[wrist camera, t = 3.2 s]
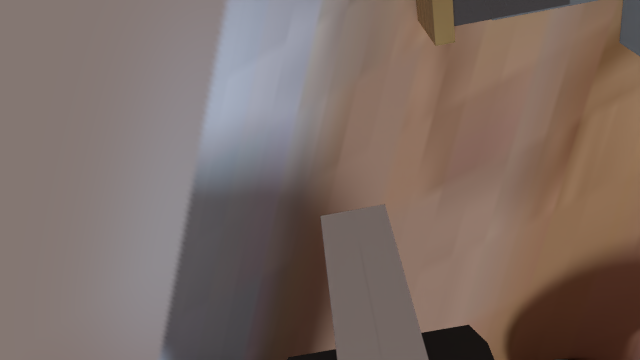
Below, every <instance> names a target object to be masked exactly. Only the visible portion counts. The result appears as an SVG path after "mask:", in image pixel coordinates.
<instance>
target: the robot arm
mask: <svg viewBox="0 0 640 360" xmlns="http://www.w3.org/2000/svg"><path fill="white" fill-rule="evenodd" d="M320 217H321V225H322V234H323V242H324V251H325V259H326V268H327V276H328V285H329V293H330V302H331V310H332V319H333V327H334V336H335V344H336V349H335V350H329V351H323V352H317V353H311V354H306V355H300V356H294V357H288V359H287V360H494V358H493V355H492V353H491V350H490V348H489V345H488V343H487V342H486V341H485V340H484V339H483V338H482V337H481V336H480V335H479V334H478V333H477V332H476V331H475V330H474V329H473V328H472V327H470V326H469V325H465V326H459V327H453V328H447V329H441V330H436V331H430V332H424V333H421V331H420V327H419V324H418V320H417V317H416V313H415V309H414V306H413V302H412V299H411V295H410V292H409V288H408V285H407V281H406V278H405V274H404V270H403V267H402V263H401V260H400V256H399V253H398V249H397V246H396V242H395V238H394V235H393V231H392V228H391V224H390V221H389V217H388V214H387V210H386V207H385V204H384V205H379V206H373V207H367V208H362V209H356V210H351V211H345V212H340V213H334V214H329V215H323V216H320Z"/></svg>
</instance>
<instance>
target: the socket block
mask: <svg viewBox="0 0 640 360" xmlns="http://www.w3.org/2000/svg"><path fill="white" fill-rule="evenodd" d="M591 1H597V0H570V4H568V5H563V6H558V7H553V8H547V9H542V10H537V11H531V12H526V13H521V14H516V15H510V16H505V17H500V18H495V19H492V20H497V19H502V18H507V17H512V16H518V15H523V14H528V13H533V12H539V11H544V10H549V9H554V8H560V7H565V6H570V5H576V4H581V3H586V2H591ZM620 43H621V44H622V45H624V46H625V47H627V48H628V49H630V50H631V51H633V52H634V53H636V54H637V55H639V56H640V0H623V10H622V22H621V33H620Z"/></svg>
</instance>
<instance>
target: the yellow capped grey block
mask: <svg viewBox="0 0 640 360" xmlns="http://www.w3.org/2000/svg"><path fill="white" fill-rule="evenodd" d="M568 4H570V0H416V5H417V16H418V21H419V23H420V24H421V25H422V27H423V28H424V30H425V31H426V33H427V34H428V36H429V37H430V39H431V40H432V41H433V43H434V44H435V46H438V45H443V44H448V43H454V42H455V33H454V26H458V25H463V24H468V23H474V22H479V21H484V20H489V19H495V18H500V17H505V16H510V15H516V14H521V13H526V12H531V11H537V10H542V9H547V8H553V7H558V6H563V5H568Z"/></svg>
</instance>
